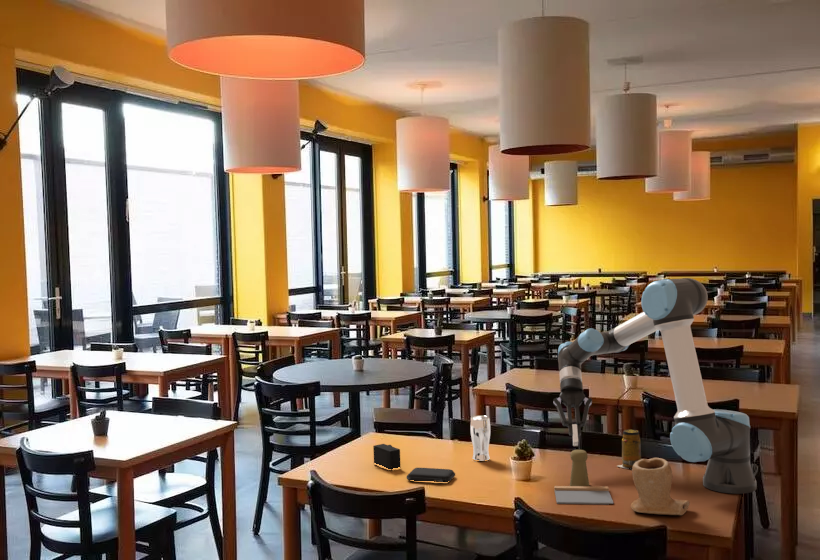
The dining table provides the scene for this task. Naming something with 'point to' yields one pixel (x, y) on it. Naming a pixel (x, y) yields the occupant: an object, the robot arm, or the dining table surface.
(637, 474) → the stone cup
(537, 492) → the dining table surface
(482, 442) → the beer glass
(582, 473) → the cork
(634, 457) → the condiment
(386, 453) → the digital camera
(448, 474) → the carrying case or bag
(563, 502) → the mat
